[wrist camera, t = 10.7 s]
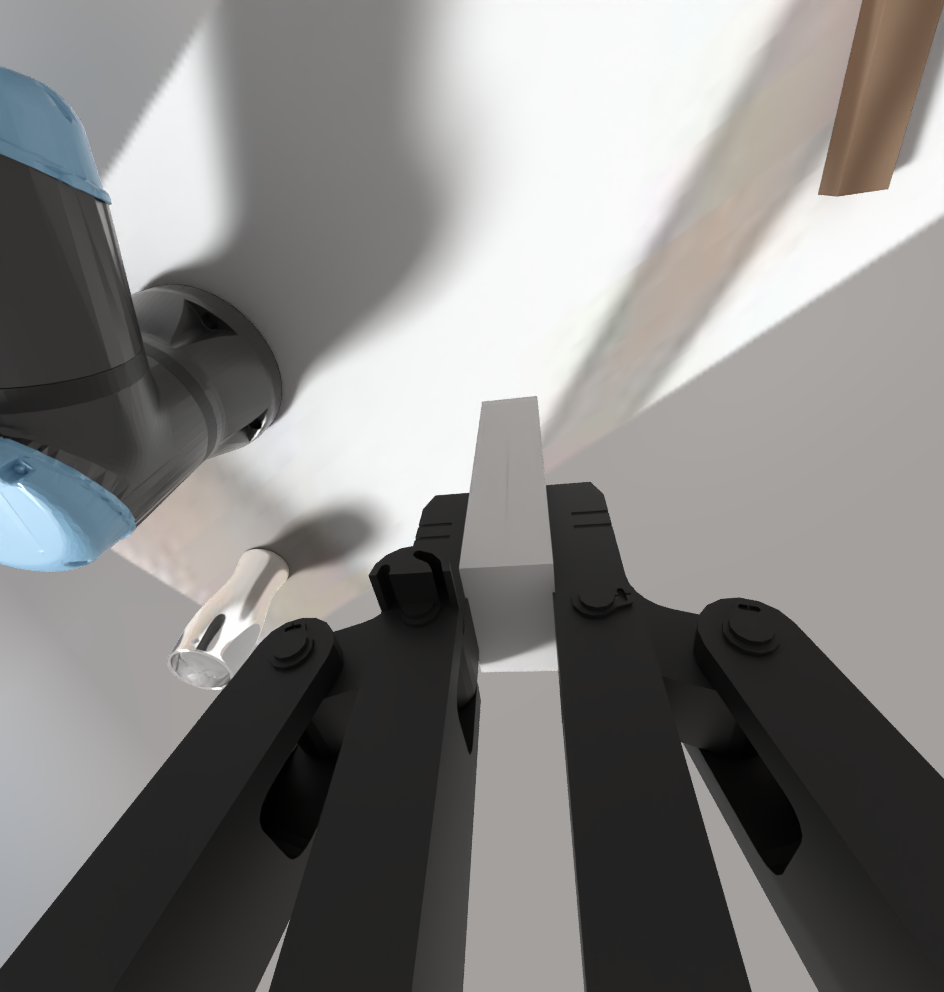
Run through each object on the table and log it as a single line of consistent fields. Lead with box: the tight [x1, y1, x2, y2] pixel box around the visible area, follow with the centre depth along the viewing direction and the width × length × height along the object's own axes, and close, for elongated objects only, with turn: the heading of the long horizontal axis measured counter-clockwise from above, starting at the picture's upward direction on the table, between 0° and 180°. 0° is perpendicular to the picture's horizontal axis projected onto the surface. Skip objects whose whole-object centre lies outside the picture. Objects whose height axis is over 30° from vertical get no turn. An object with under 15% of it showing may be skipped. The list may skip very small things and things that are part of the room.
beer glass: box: [167, 549, 289, 690], centre depth 53 cm, size 7×7×15 cm
